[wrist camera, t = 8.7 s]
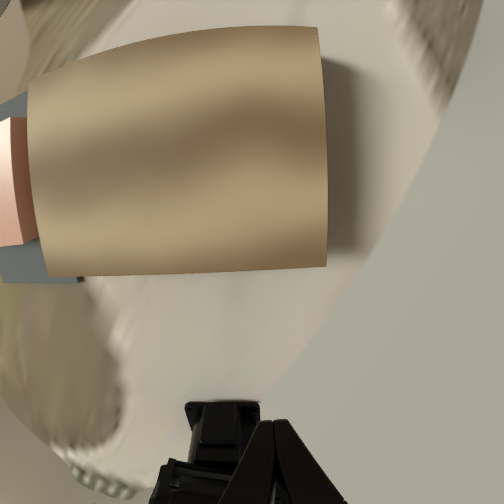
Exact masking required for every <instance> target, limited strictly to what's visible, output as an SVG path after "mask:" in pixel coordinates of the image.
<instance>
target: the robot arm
mask: <svg viewBox="0 0 504 504" xmlns="http://www.w3.org/2000/svg"><path fill="white" fill-rule="evenodd" d="M185 412H186V415H187V418H188V421H189V424H190V427H191V430H192V438H191V444H190V450H189V455H188V461H187V462H182V461H177V460H176V459H173V458H169V460H168V464H167V465H162V466H161V468H160V472H159V476H158V480H157V483H156V486H155V488H154V490H153V493H152V495H151V497H150V500H149V504H348V503H347V502H346V501H344V498H343V497H342V496H341V494H340V493H339V492H338V490H337V489H336V488H335V486H334V485H333V484H332V482H331V481H330V480H329V478H328V477H327V476H326V474H325V473H324V471H323V470H322V469H321V467H320V466H319V464H318V463H317V462H316V460H315V459H314V458H313V456H312V455H311V453H310V452H309V451H308V449H307V447H306V446H305V445H304V443H303V442H302V440H301V439H300V438H299V436H298V434H297V433H296V432H295V430H294V429H293V427H292V426H291V424H290V423H289V421H288V420H287V419H279V420H274V421H271V420H264V421H260V406H259V404H257V403H186V404H185Z"/></svg>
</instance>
